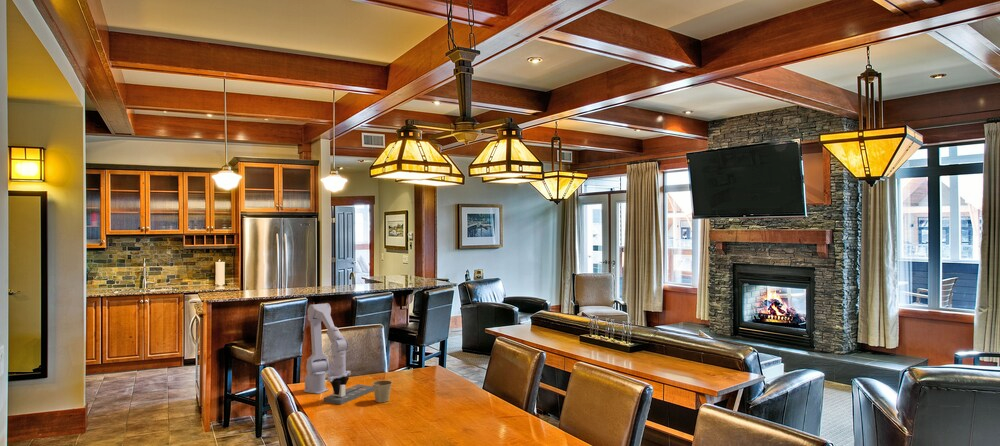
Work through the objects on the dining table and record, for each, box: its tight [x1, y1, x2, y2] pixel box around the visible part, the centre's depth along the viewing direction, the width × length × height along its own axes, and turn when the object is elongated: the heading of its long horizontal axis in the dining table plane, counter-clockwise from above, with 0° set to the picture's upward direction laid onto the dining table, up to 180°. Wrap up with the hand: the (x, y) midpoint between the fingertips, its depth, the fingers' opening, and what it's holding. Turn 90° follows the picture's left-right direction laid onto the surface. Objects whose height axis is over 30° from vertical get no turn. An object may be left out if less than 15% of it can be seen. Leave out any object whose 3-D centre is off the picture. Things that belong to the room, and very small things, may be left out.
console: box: [323, 383, 374, 406], centre depth 280 cm, size 10×26×2 cm, turn 157°
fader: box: [332, 384, 347, 397], centre depth 272 cm, size 5×3×5 cm, turn 67°
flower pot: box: [371, 379, 393, 403], centre depth 272 cm, size 9×9×9 cm
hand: (339, 393), depth 272 cm, fingers closed on fader, 3 cm apart
